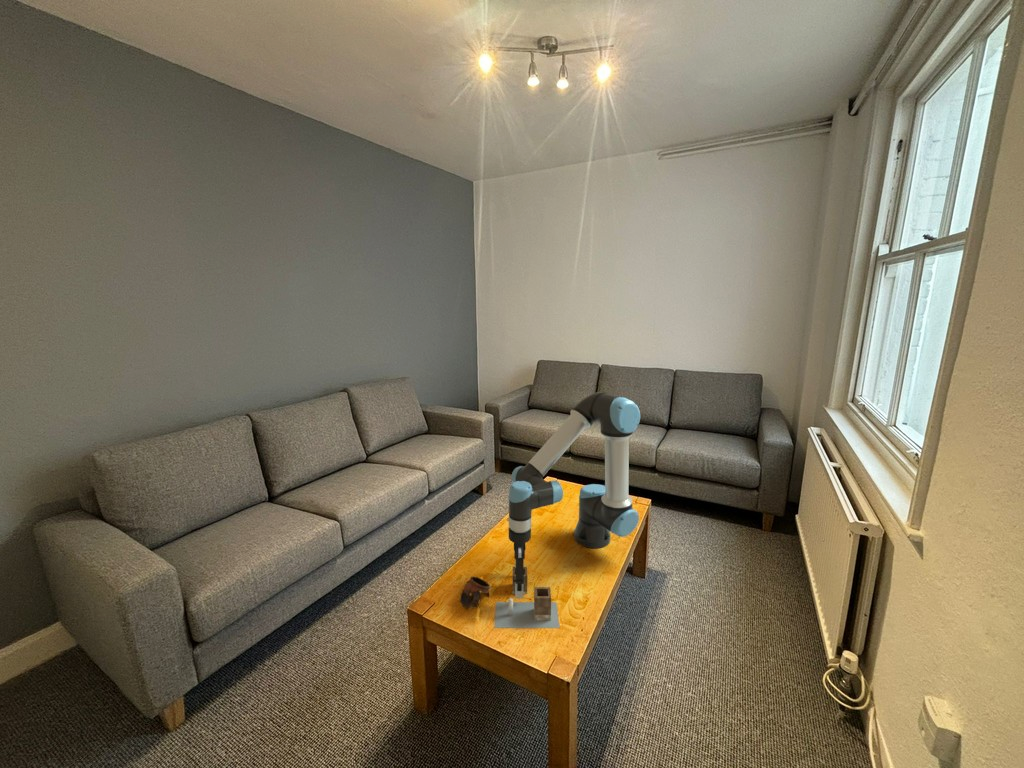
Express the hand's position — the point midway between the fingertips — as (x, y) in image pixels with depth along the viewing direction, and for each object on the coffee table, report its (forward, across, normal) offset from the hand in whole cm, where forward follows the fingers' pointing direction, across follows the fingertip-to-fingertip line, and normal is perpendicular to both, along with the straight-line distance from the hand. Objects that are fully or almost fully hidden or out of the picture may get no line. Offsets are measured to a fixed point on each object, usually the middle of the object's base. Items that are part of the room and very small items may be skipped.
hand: (519, 583), depth 144 cm
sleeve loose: (+3, 0, 0) cm, 3 cm away
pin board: (+3, +12, +2) cm, 12 cm away
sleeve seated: (+2, +12, +7) cm, 14 cm away
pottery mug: (+4, +5, -15) cm, 16 cm away
